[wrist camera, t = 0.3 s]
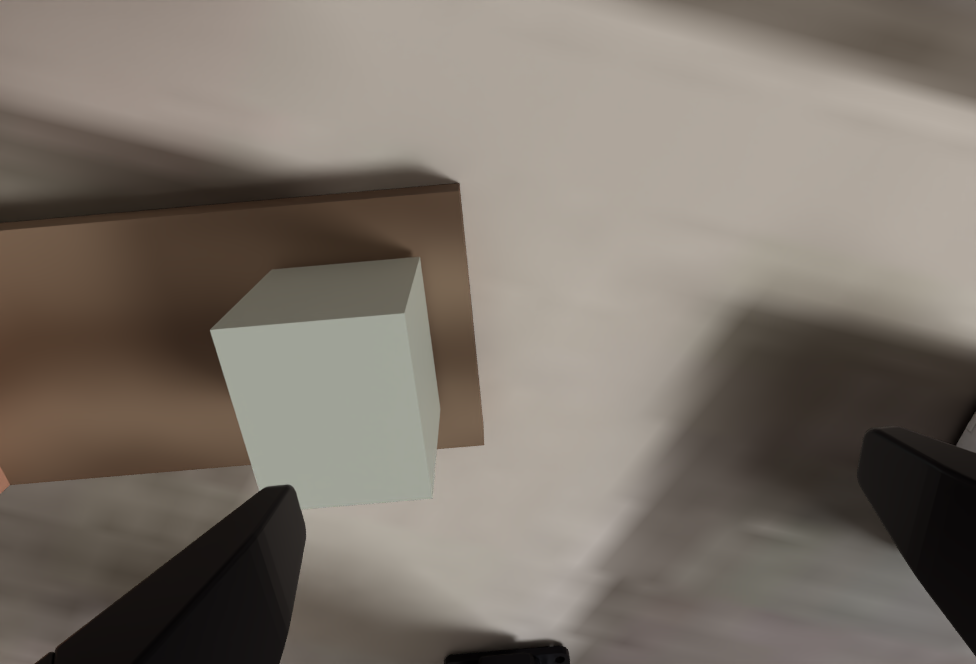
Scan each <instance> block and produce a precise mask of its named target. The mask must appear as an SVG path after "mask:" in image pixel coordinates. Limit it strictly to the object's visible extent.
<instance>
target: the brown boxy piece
mask: <svg viewBox="0 0 976 664" xmlns="http://www.w3.org/2000/svg"><path fill="white" fill-rule="evenodd" d="M410 257H420V261H421V268H422V276H423V283H424V291H425V298H426V306H427V313H428V321H429V328H430V336H431V343H432V351H433V358H434V365H435V373H436V380H437V388H438V395H439V403H440V419H439V431H438V442H437V449H444V448H456V447H468V446H479V445H484V430H483V416H482V406H481V396H480V386H479V376H478V366H477V356H476V346H475V336H474V326H473V315H472V305H471V295H470V285H469V275H468V265H467V255H466V245H465V235H464V225H463V214H462V204H461V194H460V184H459V183H454V184H442V185H431V186H419V187H408V188H396V189H385V190H373V191H362V192H350V193H339V194H327V195H316V196H304V197H293V198H281V199H270V200H258V201H247V202H235V203H224V204H212V205H201V206H189V207H178V208H166V209H155V210H143V211H132V212H120V213H109V214H97V215H86V216H74V217H63V218H51V219H40V220H28V221H17V222H5V223H0V493H2V492H3V491H4V490H5V489H6V488H7V487H8V486H9V485H15V484H27V483H39V482H51V481H63V480H75V479H87V478H99V477H111V476H122V475H134V474H146V473H158V472H170V471H182V470H194V469H206V468H218V467H230V466H241V465H251V462H250V459H249V456H248V452H247V449H246V446H245V443H244V439H243V436H242V433H241V430H240V426H239V423H238V420H237V417H236V413H235V410H234V407H233V404H232V400H231V397H230V394H229V391H228V387H227V384H226V381H225V378H224V374H223V371H222V368H221V365H220V361H219V358H218V355H217V352H216V348H215V345H214V342H213V339H212V335H211V332H210V329H211V328H212V327H213V326H214V325H215V324H216V323H217V322H218V321H219V320H220V319H221V318H222V317H223V316H225V315H226V314H227V313H228V312H229V311H230V310H231V309H232V308H233V307H234V306H235V305H236V304H237V303H238V302H239V301H240V300H241V299H242V298H243V297H244V296H245V295H246V294H247V293H248V292H249V291H250V290H251V289H252V288H253V287H254V286H255V285H256V284H257V283H258V282H259V281H260V280H261V279H262V278H263V277H264V276H265V275H266V274H268V273H269V272H270V271H271V270H272V269H283V268H294V267H306V266H318V265H329V264H341V263H352V262H364V261H376V260H387V259H399V258H410Z"/></svg>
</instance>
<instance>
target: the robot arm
mask: <svg viewBox="0 0 976 664" xmlns="http://www.w3.org/2000/svg"><path fill="white" fill-rule="evenodd" d="M857 478H858V482H859V485H860V487H861V489H862V491H863V492H864V494H865V496H866V497H867V499H868V501H869V502H870V504H871V505H872V507H873V509H874V510H875V512H876V514H877V515H878V517H879V518H880V520H881V522H882V523H883V525H884V527H885V528H886V530H887V531H888V533H889V535H890V536H891V538H892V540H893V541H894V543H895V544H896V546H897V548H898V549H899V551H900V553H901V554H902V556H903V557H904V559H905V561H906V562H907V564H908V565H909V567H910V568H911V570H912V571H913V573H914V574H915V576H916V577H917V579H918V580H919V581H920V583H921V584H922V586H923V587H924V588H925V590H926V591H927V592H928V594H929V595H930V596H931V598H932V599H933V600H934V602H935V603H936V604H937V606H938V607H939V608H940V610H941V611H942V612H943V614H944V615H945V616H946V618H947V619H948V620H949V622H950V623H951V624H952V626H953V627H954V628H955V630H956V631H957V632H958V633H959V635H960V636H961V637H962V639H963V640H964V641H965V643H966V644H967V645H968V647H969V648H970V649H971V651H972V652H973V653H974V655H975V656H976V453H975V452H972V451H969V450H966V449H963V448H960V447H957V446H954V445H951V444H949V443H946V442H943V441H940V440H937V439H934V438H931V437H928V436H925V435H922V434H919V433H917V432H914V431H911V430H908V429H905V428H902V427H899V426H887V427H877V428H871V429H869V430H868V431H867V432H866V433H865V435H864V438H863V443H862V448H861V453H860V459H859V464H858V469H857ZM305 541H306V527H305V522H304V519H303V515H302V511H301V508H300V504H299V501H298V497H297V493H296V491H295V489H294V487H293V486H291V485H289V484H286V485H275V486H267V487H265V488H263V489H262V490H260V491H259V492H258V493H256V494H255V495H254V496H253V497H251V498H250V499H249V500H247V501H246V502H245V503H243V504H242V505H241V506H240V507H238V508H237V509H236V510H234V511H233V512H232V513H230V514H229V515H228V516H227V517H225V518H224V519H223V520H221V521H220V522H219V523H217V524H216V525H215V526H213V527H212V528H211V529H210V530H208V531H207V532H206V533H204V534H203V535H202V536H200V537H199V538H198V539H197V540H195V541H194V542H193V543H191V544H190V545H189V546H187V547H186V548H185V549H184V550H182V551H181V552H180V553H178V554H177V555H176V556H174V557H173V558H172V559H171V560H169V561H168V562H167V563H165V564H164V565H163V566H161V567H160V568H159V569H157V570H156V571H155V572H154V573H152V574H151V575H150V576H148V577H147V578H146V579H144V580H143V581H142V582H141V583H139V584H138V585H137V586H135V587H134V588H133V589H131V590H130V591H129V592H128V593H126V594H125V595H124V596H122V597H121V598H120V599H118V600H117V601H116V602H114V603H113V604H112V605H111V606H109V607H108V608H107V609H105V610H104V611H103V612H101V613H100V614H99V615H98V616H96V617H95V618H94V619H92V620H91V621H90V622H88V623H87V624H86V625H85V626H83V627H82V628H81V629H79V630H78V631H77V632H75V633H74V634H73V635H71V636H70V637H69V638H68V639H66V640H65V641H64V642H62V643H61V644H60V645H58V646H57V647H56V649H55V653H54V652H49V653H48V654H46V655H45V656H44V657H43V658H41V659H40V660H39V661H37V662H36V663H35V664H279V663H280V660H281V656H282V653H283V650H284V646H285V642H286V639H287V635H288V631H289V626H290V621H291V616H292V611H293V606H294V600H295V595H296V590H297V584H298V579H299V573H300V568H301V563H302V557H303V552H304V547H305ZM444 664H570V658H569V652H568V649H567V648H566V647H563V646H553V647H541V648H528V649H516V650H504V651H492V652H480V653H467V654H455V655H449V656H447V657H446V658H445V659H444Z"/></svg>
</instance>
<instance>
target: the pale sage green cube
mask: <svg viewBox="0 0 976 664" xmlns="http://www.w3.org/2000/svg"><path fill="white" fill-rule="evenodd" d="M210 332H211V335H212V339H213V342H214V345H215V348H216V352H217V355H218V358H219V361H220V365H221V368H222V371H223V374H224V378H225V381H226V384H227V387H228V391H229V394H230V397H231V400H232V404H233V407H234V410H235V413H236V417H237V420H238V423H239V426H240V430H241V433H242V436H243V439H244V443H245V446H246V449H247V452H248V456H249V459H250V462H251V465H252V469H253V472H254V475H255V478H256V482H257V485H258V488H259V491H260V490H262V489H263V488H265V487H267V486H275V485H286V484H289V485H291V486H293V487H294V489H295V491H296V493H297V497H298V501H299V504H300V508H301V510H302V509H314V508H326V507H338V506H350V505H362V504H374V503H386V502H398V501H410V500H422V499H433V487H434V476H435V465H436V453H437V442H438V431H439V419H440V403H439V395H438V388H437V380H436V373H435V365H434V358H433V351H432V343H431V336H430V328H429V321H428V313H427V306H426V298H425V291H424V283H423V276H422V268H421V261H420V257H410V258H399V259H387V260H376V261H364V262H352V263H341V264H329V265H318V266H306V267H294V268H283V269H272V270H271V271H270V272H269V273H268V274H266V275H265V276H264V277H263V278H262V279H261V280H260V281H259V282H258V283H257V284H256V285H255V286H254V287H253V288H252V289H251V290H250V291H249V292H248V293H247V294H246V295H245V296H244V297H243V298H242V299H241V300H240V301H239V302H238V303H237V304H236V305H235V306H234V307H233V308H232V309H231V310H230V311H229V312H228V313H227V314H226V315H225V316H223V317H222V318H221V319H220V320H219V321H218V322H217V323H216V324H215V325H214V326H213V327H212V328H211V329H210Z"/></svg>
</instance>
